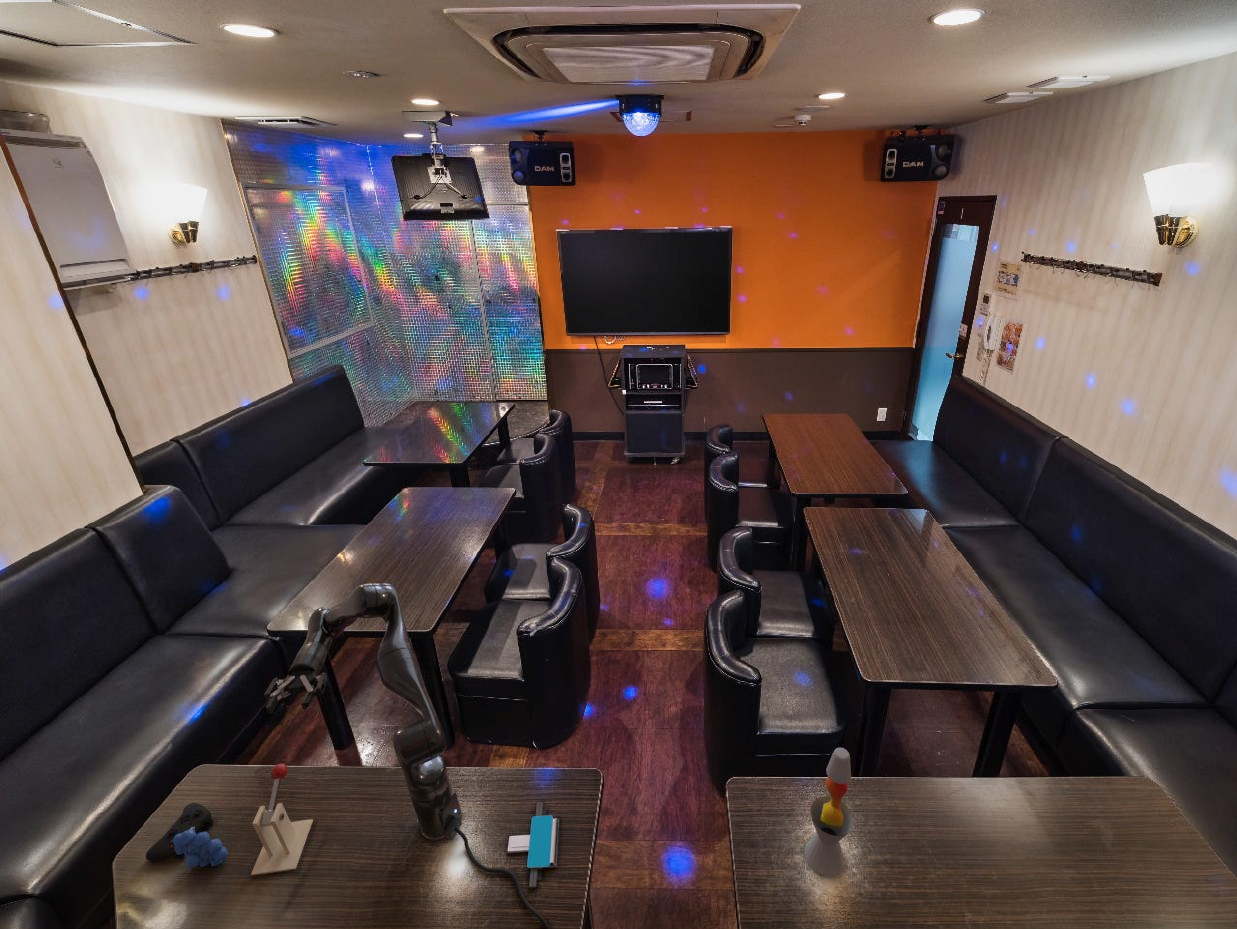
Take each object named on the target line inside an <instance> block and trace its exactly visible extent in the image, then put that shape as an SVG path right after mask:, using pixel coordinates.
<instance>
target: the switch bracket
mask: <svg viewBox="0 0 1237 929" xmlns="http://www.w3.org/2000/svg"><path fill="white" fill-rule="evenodd" d="M264 811H268V809H267V808H266V806H265V805H260V806H259V808H258V810H257V812H256V815H255V816H254V819H253V822H252V827H253V829H254V831H255V833H256V835H257V836H258V838H259V840H260V842H261V844H262V847H261V850H260V852H259V854H258V856H257V859H256V861H255V863H254V866H253V868H252V870H251V873H250V876H251V877H252V876H261V875H266V874H274V873H281V872H288V871H294V870H296V869H297V866H298V865H299V864H298V863H299V861H300V859H301V856H302V852H303V850H304V847H305V845H306V842H307V839H308V836H309V833H310V831H311V828H312V825H313V822H314V819H313V818H311V819H303V820H296V821H291V819H290V817H289V815H288V813H287V811H286V809H285V806H284V805H283V802H279V803H276V806H275V811H274V814H273V816H272V818H271V821H270V822H271V824H272V826H263V825H261V823H262V818H263V814H264Z"/></svg>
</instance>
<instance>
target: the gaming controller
mask: <svg viewBox="0 0 1237 929" xmlns="http://www.w3.org/2000/svg"><path fill="white" fill-rule="evenodd" d="M213 824H214V820H213V818H212V813H211V811H210V810H209V809H208V808H207V807H205V806H204V805H202V804H201V803H197V802H190V803H189V804H187V805H185V806H184V808H183V809H182V813H181V814H180V815H179V817H178V818H177V820H175V822H174V823H173V824H172V826H170V828H169V829H168V830H167V832H166V833H165V834H164V835H163V836H162V837H161V838H159V839H158V840H157V841H156V842H155V843H154V844H153V845H152V846H150V848H149V849H147V851H146V853H145V859H146V860H147V861H148V862H157V861H161V860H165V859H169V858H182V857H185V855H184V854H178V855H177V853H176V852H175V845H174V843H173V838H174V836H175V835H177V834H180V833H183V832H184V831H186V830H192V829H194V831H195V833H196V835H197V834H198V833H200V831H201V830H202V829H203V828H204V826H205V827H208V826H211V825H213Z"/></svg>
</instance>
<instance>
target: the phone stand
mask: <svg viewBox="0 0 1237 929" xmlns="http://www.w3.org/2000/svg"><path fill="white" fill-rule="evenodd" d="M535 808H536V809H535V816H532V817H531V822H530V823H531V824H530V833H529V834H523V835H522V834H520V835H509V838H508V844H507V854H514V853H528V854H527V861H526V862H527V864H526V867H527V868H528V869H530V870H529V883H528V884H529V885H528V889H537V881H542V875H543V869H551V868H552V869H553V868H558V858H559V840H560V839H559V838H560V837H559V836H560V820H561V818H560V817H554V815H552V814H548V815H547V809H544V801H543V802H540V801H539V802H536V807H535Z"/></svg>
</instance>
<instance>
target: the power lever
mask: <svg viewBox="0 0 1237 929" xmlns="http://www.w3.org/2000/svg"><path fill="white" fill-rule="evenodd" d="M288 773H289V767H288V765H286V763H277V764H275V765H274V766H273V767H272V769H271V771H270V775H271V778H272V779H273V786H272V789H271V790H272V791H271V795H270V800H269V804H268V807H267V808H268V809H267V811H264V814H263V818H262V823H261V825H263V826H272V824H271V822H270V821H271V818H272V816H273V814H274V811H275V809H276V807H277V800H278V796H279V792H280V786H281V782H282V780H283V779H284V778H285V777H286V776H287V775H288Z"/></svg>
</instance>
